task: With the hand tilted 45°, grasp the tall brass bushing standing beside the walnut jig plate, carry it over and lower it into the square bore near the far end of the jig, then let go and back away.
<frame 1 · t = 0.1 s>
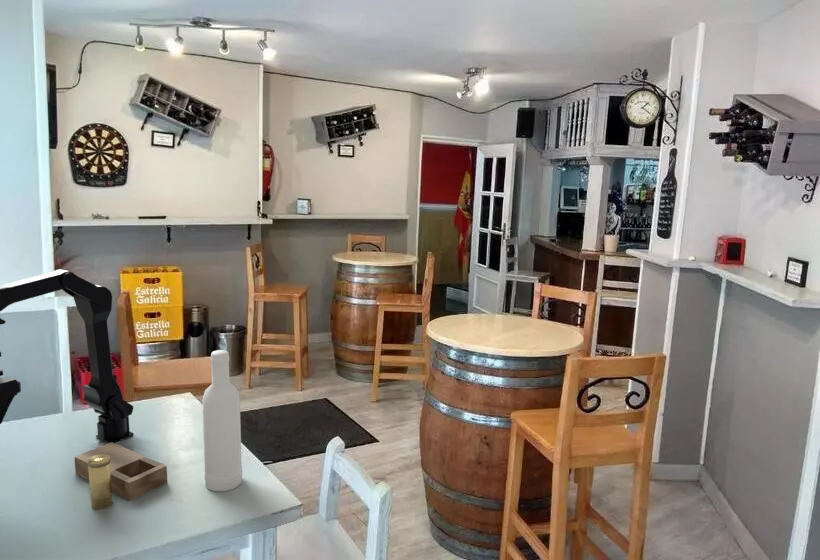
bottle: (223, 483, 139), on the table
bushing: (102, 504, 129), on the table
jig: (121, 477, 139), on the table
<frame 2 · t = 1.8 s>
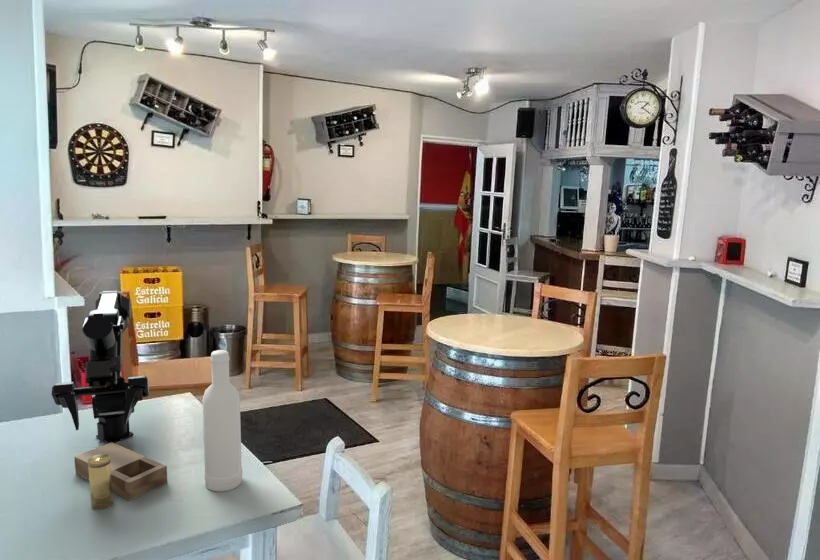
hand: (101, 426, 134), 13 cm above the table, tool tilted 45°, fingers open, 9 cm apart
nothing on the table moved.
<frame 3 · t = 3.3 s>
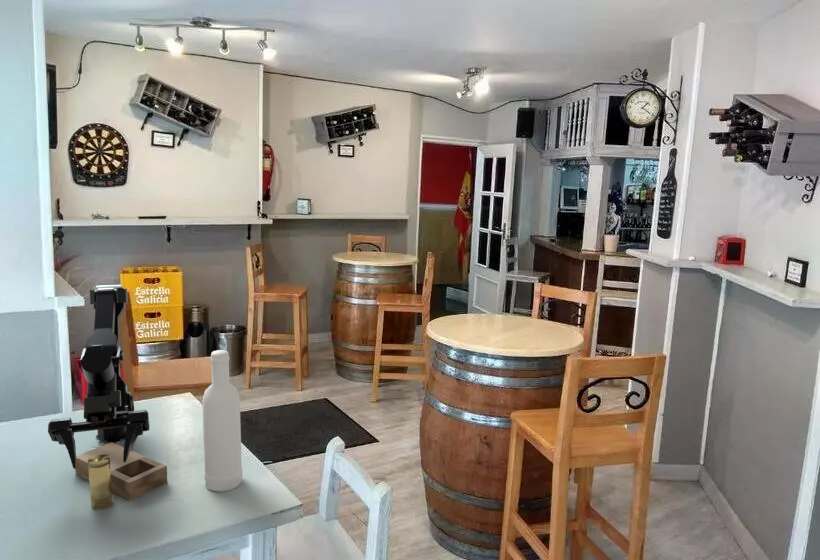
hand: (99, 464, 128), 8 cm above the table, tool tilted 45°, fingers open, 9 cm apart
nothing on the table moved.
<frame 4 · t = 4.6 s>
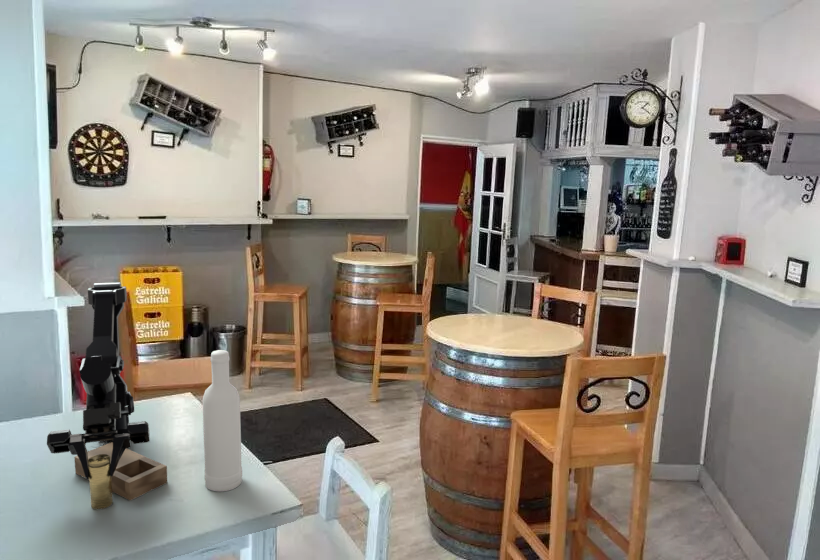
hand: (99, 477, 126), 7 cm above the table, tool tilted 45°, fingers closed on bushing, 4 cm apart
bushing: (102, 504, 129), on the table, touching gripper
everything else where it was.
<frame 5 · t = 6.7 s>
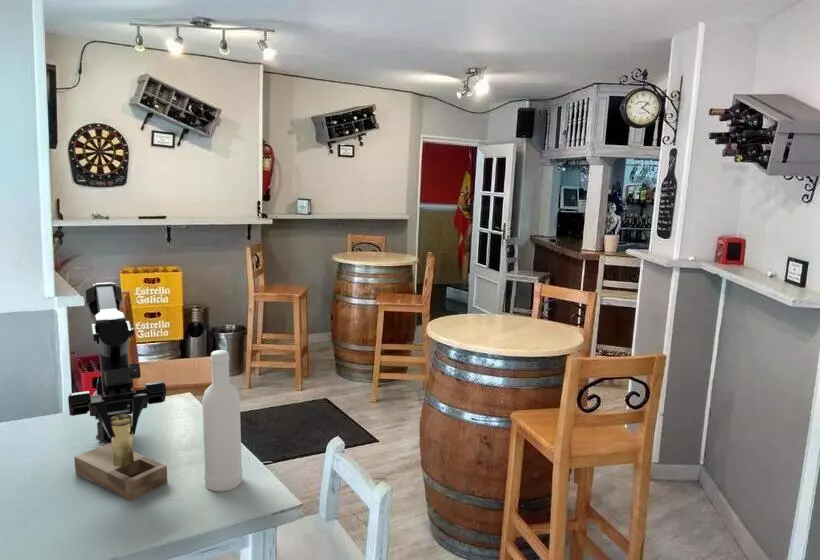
hand: (122, 435, 130), 13 cm above the table, tool tilted 45°, fingers closed on bushing, 4 cm apart
bushing: (123, 462, 133), point 7 cm above the table, touching gripper
everything else where it was.
when the fingers open (8 cm above the table, at t = 8.6 s): bushing drops 1 cm, resting in jig.
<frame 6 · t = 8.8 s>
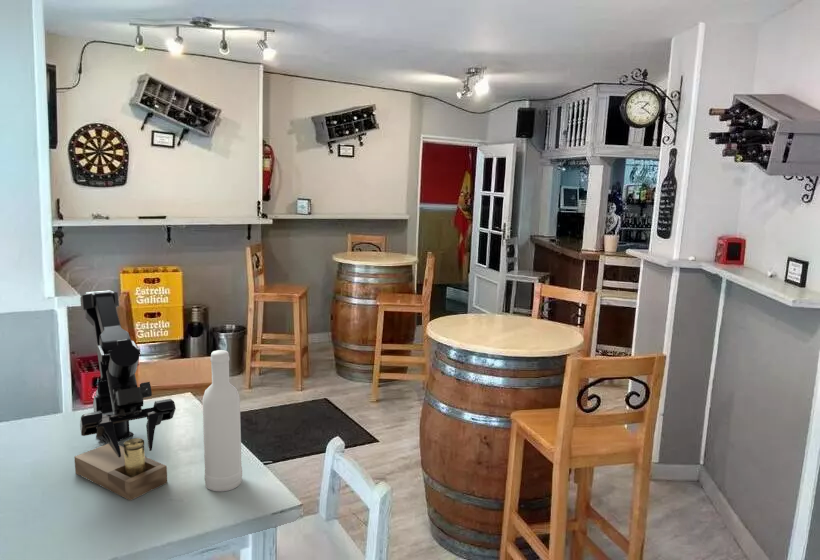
hand: (135, 453, 134), 8 cm above the table, tool tilted 45°, fingers open, 6 cm apart
bushing: (136, 485, 137), resting in jig
everything else where it was.
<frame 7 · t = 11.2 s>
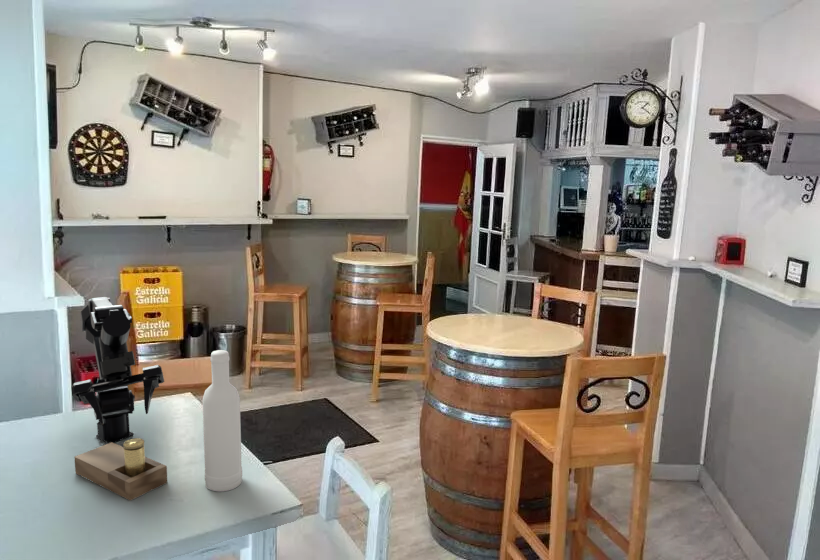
hand: (124, 418, 140), 13 cm above the table, tool tilted 40°, fingers open, 9 cm apart
nothing on the table moved.
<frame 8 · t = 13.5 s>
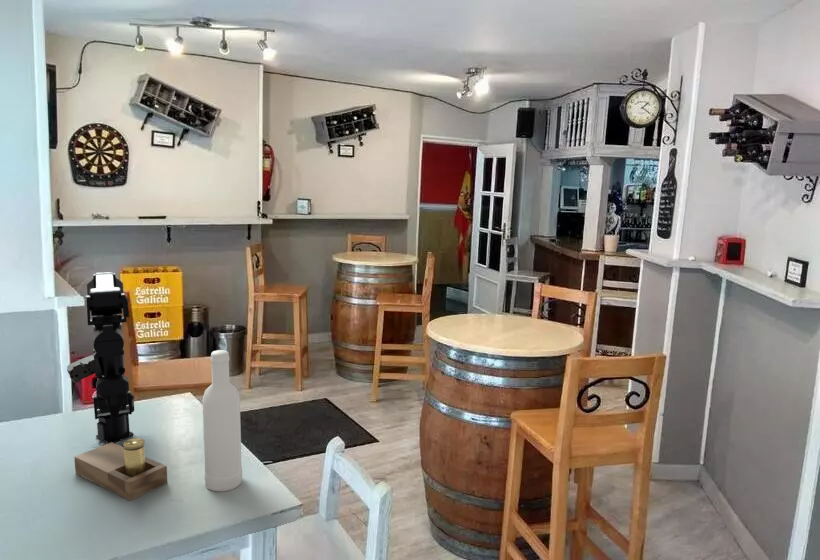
hand: (113, 410, 144), 13 cm above the table, tool pointing down, fingers open, 9 cm apart
nothing on the table moved.
at the end: bushing 0.0 cm from the target spot on the jig, point 0.0 cm above the jig's base; bushing tilted 0°; the gripper is holding nothing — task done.
